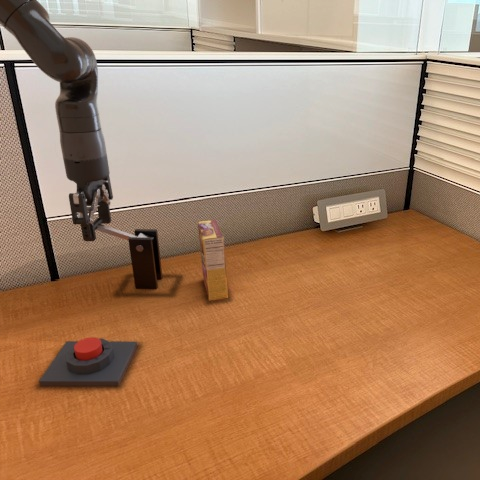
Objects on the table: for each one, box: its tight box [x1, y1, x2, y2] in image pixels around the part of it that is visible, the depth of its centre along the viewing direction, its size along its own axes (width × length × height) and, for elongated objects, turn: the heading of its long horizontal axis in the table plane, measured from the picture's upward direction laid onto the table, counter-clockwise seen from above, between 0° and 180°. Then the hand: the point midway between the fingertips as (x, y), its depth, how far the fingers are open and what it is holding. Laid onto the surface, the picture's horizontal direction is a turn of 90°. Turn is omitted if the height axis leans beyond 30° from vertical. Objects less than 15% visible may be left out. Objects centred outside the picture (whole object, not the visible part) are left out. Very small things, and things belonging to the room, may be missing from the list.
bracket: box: [127, 228, 163, 290], centre depth 100 cm, size 11×8×13 cm
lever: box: [93, 217, 153, 241], centre depth 97 cm, size 12×5×2 cm, turn 93°
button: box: [74, 336, 103, 361], centre depth 78 cm, size 4×4×2 cm
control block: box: [38, 338, 138, 387], centre depth 79 cm, size 12×10×4 cm
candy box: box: [197, 219, 229, 302], centre depth 99 cm, size 9×4×15 cm, turn 20°
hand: (98, 231), depth 97 cm, fingers open, 8 cm apart
